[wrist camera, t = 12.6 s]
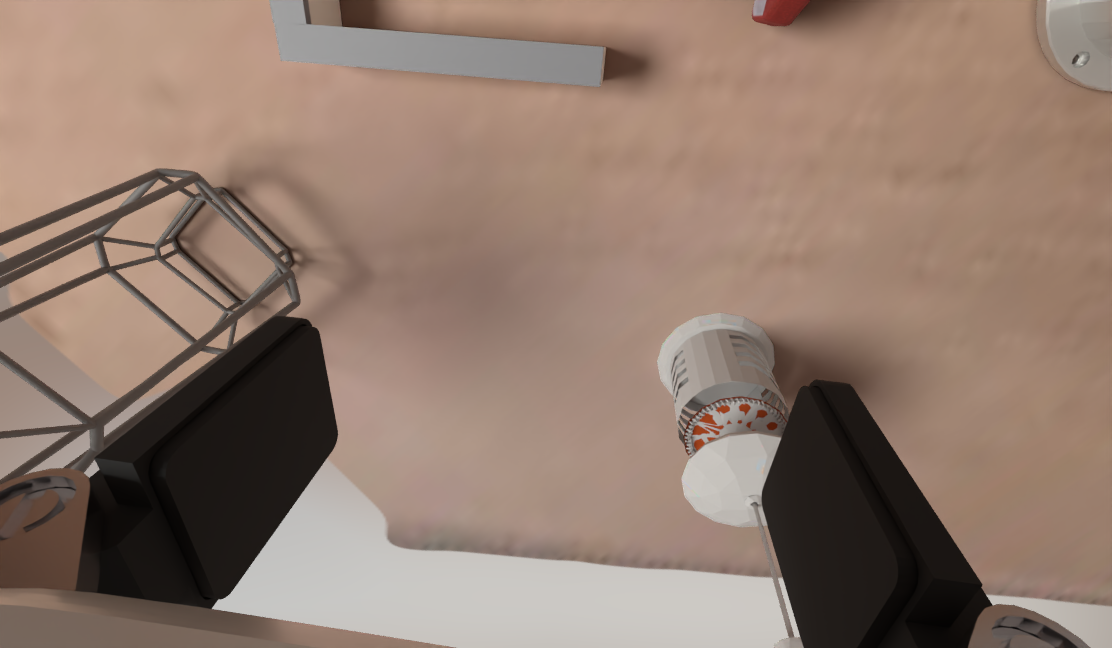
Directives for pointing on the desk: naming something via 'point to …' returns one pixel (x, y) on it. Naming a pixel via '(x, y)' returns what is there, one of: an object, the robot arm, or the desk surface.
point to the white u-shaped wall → (426, 49)
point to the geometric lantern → (103, 226)
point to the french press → (727, 421)
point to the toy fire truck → (777, 11)
